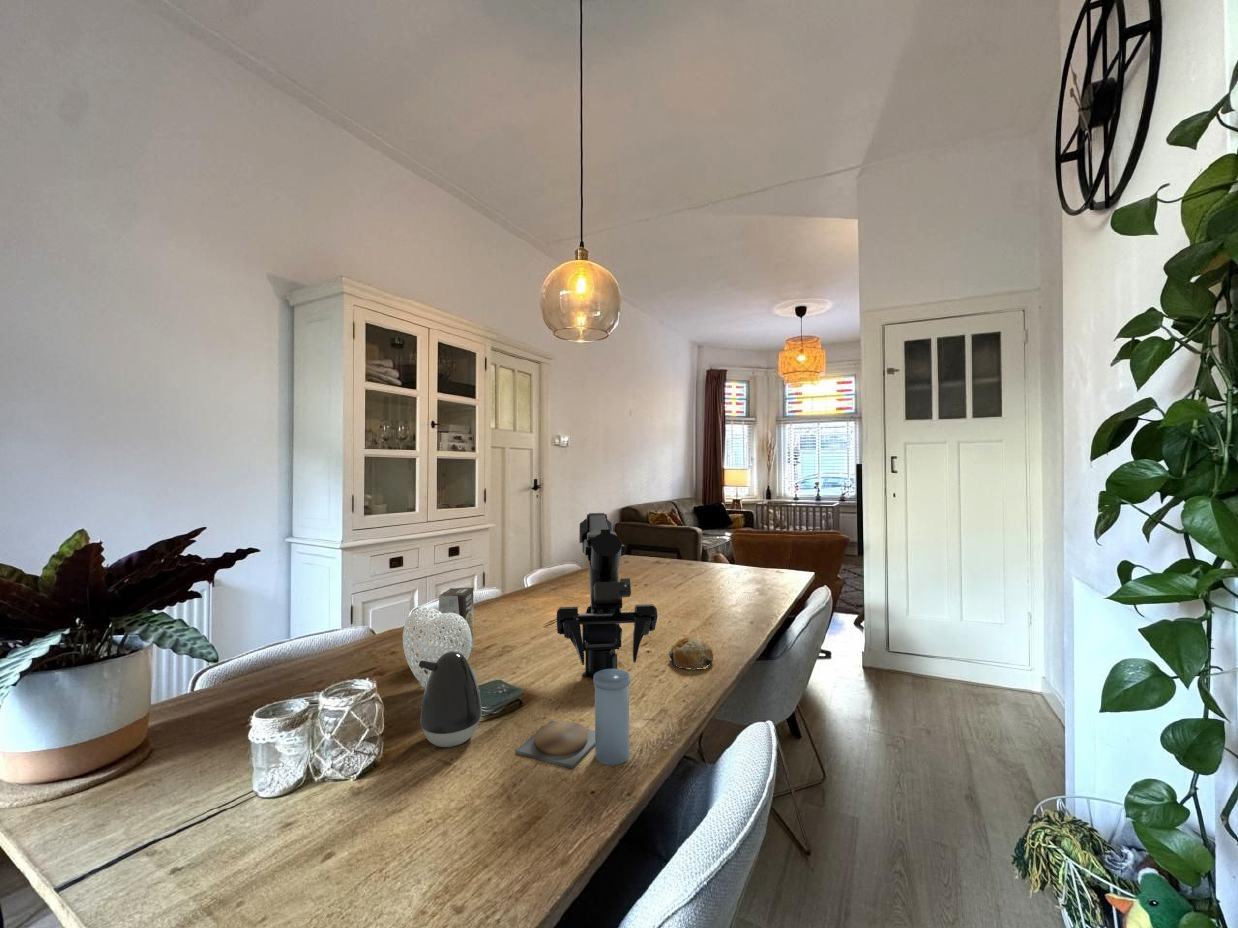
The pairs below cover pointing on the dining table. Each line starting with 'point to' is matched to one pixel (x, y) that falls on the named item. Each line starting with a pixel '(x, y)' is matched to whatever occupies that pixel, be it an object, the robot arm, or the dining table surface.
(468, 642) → the decorative heart
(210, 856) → the dining table surface
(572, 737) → the grey brown domed tile
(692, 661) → the brown domed lump
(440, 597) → the coffee box
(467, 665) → the pump dispenser
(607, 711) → the canister
